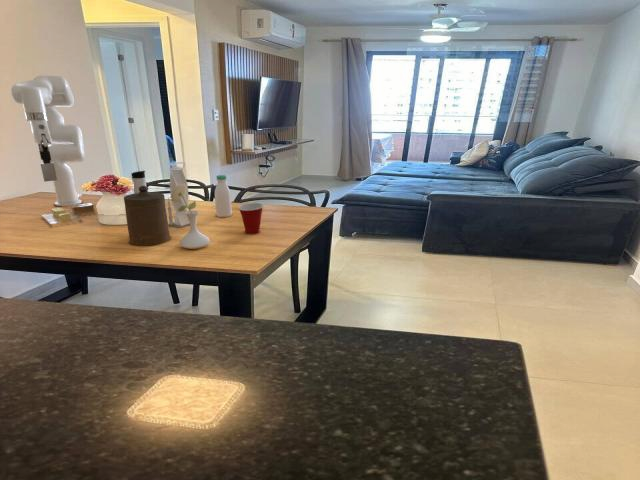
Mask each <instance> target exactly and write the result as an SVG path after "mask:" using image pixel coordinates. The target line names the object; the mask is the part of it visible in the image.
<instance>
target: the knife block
mask: <svg viewBox="0 0 640 480" xmlns="http://www.w3.org/2000/svg"><path fill="white" fill-rule="evenodd" d="M70 211H71V212H72V213H73V214H74V215H77V216H78V215H83V214H90V213H95V207H94V204H93V203H91V202H89V203H80V204H75V205H70Z"/></svg>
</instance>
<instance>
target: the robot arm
mask: <svg viewBox="0 0 640 480" xmlns="http://www.w3.org/2000/svg"><path fill="white" fill-rule="evenodd" d="M10 88H11V89H10V96H11V99H12V100H13V101H14V102H15V103H16V104H19V105H22V106H23V109H24V115H25V118H26V121H27V122H29V123H30V128H31V132H32V137H33V140H34V143H35V144H37V146H38V151H39V156H40V160H41V161H42V162H43V161H47V160H50V163H54V167H55V171H56V176H57V180H55V181H52V183H53V187H54V191H55V196H56V201H55V202H54V206H56V207H68V206H74V205H81V204H83V201H82V199H80V197H82V196H83V195H82V193H81V192H79V193H77V187H76V181H75V177H74V172H73V170H72V168H71V167H70V166H69V165H68V164H67V163H69V164H70V163H71V164H72V163H83V162H84V161H85V160H86V152H85V146H84V138H83V137H84V136H83V132H82V129H81V128H80V127H79V126H78V125H76V124H65V118H64V116H63V114H62V113H61V112H59V111H58V110H57V109H56V107H59V108H60V107H61V108H62V107H63V108H65V107H66V108H70V107H73V106H74V105H75V97H74V94H73V91H72V89H71V86H70V84H69V82H68V81H67V80H66V78H65V77H63V76H60V75H37V76H35V77H34V78H33V79H30V80H26V81H20V82H15V83H13V85H12V86H11V87H10ZM40 147H41V150H40Z"/></svg>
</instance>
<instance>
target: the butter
mask: <svg viewBox="0 0 640 480" xmlns="http://www.w3.org/2000/svg"><path fill="white" fill-rule="evenodd" d="M65 211H66V210H65V209H64V208H62V207H54V208H51V214H52V213H53V215H54V216H55V217H56V218H59V215H58V214H63V213H65Z"/></svg>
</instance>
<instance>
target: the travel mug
mask: <svg viewBox="0 0 640 480" xmlns="http://www.w3.org/2000/svg"><path fill="white" fill-rule="evenodd" d="M145 173H146V170H138V171H133V172H131V173H130V175H131V181H134V189H133V194H135V193H139V192H140V191H139V187H141V186H146V187H148V186H147V179H146V174H145Z"/></svg>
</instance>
